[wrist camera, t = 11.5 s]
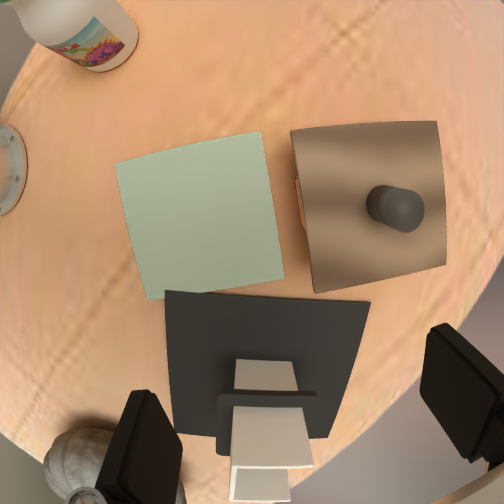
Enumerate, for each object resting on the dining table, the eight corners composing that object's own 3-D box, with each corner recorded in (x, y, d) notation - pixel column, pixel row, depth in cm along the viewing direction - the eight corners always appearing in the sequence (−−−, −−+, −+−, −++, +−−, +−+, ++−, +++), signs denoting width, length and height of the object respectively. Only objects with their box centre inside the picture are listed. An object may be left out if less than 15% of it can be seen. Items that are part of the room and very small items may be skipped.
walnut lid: (289, 131, 24) (300, 122, 19) (432, 121, 24) (465, 116, 18) (313, 290, 28) (326, 317, 23) (442, 262, 27) (472, 280, 22)
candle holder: (327, 437, 43) (348, 519, 27) (174, 432, 41) (157, 518, 26) (371, 302, 35) (436, 387, 20) (164, 289, 34) (113, 382, 19)
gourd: (80, 387, 36) (47, 489, 21) (217, 448, 45) (220, 538, 29) (47, 434, 43) (27, 503, 28) (151, 480, 52) (146, 545, 36)
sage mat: (116, 164, 31) (114, 164, 30) (260, 131, 30) (260, 131, 30) (148, 298, 35) (147, 300, 35) (284, 277, 35) (285, 278, 34)
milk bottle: (93, 18, 26) (1, -54, 6) (148, 17, 26) (73, -82, 7) (74, 73, 28) (-43, 26, 8) (128, 74, 28) (21, 3, 9)
